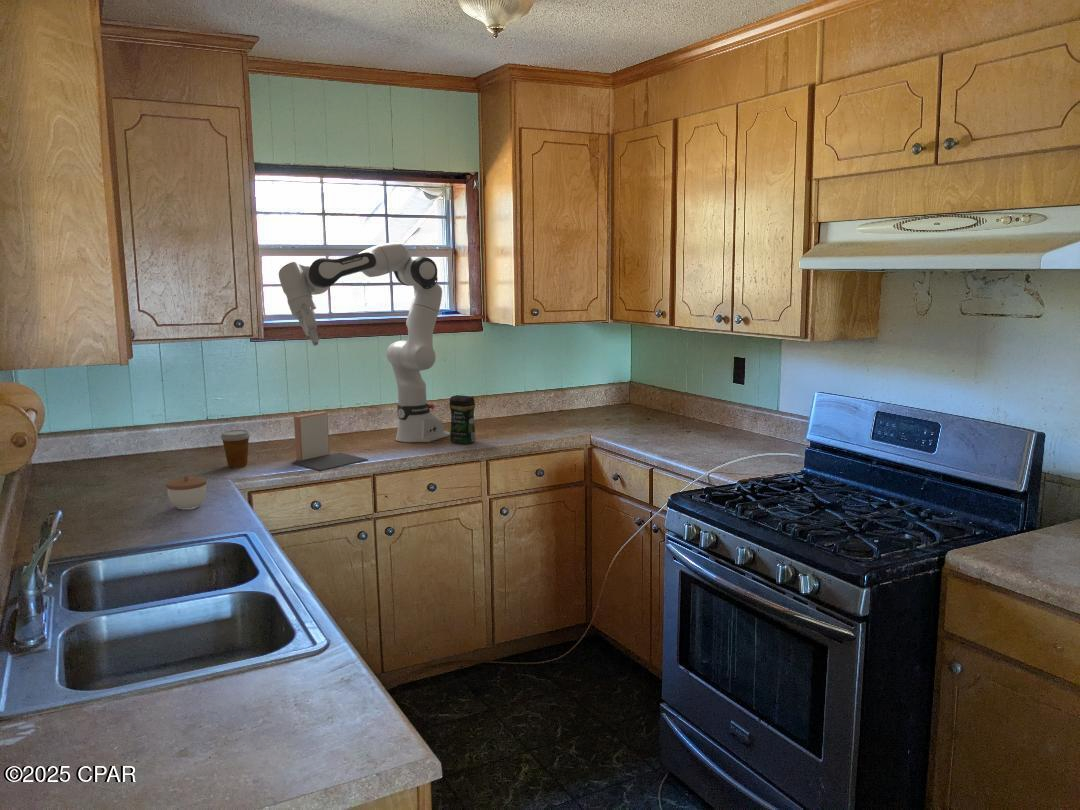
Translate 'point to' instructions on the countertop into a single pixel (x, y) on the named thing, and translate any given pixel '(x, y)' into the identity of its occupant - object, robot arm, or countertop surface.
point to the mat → (329, 461)
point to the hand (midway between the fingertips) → (316, 343)
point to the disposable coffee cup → (236, 447)
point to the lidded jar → (186, 491)
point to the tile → (311, 435)
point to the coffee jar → (462, 419)
